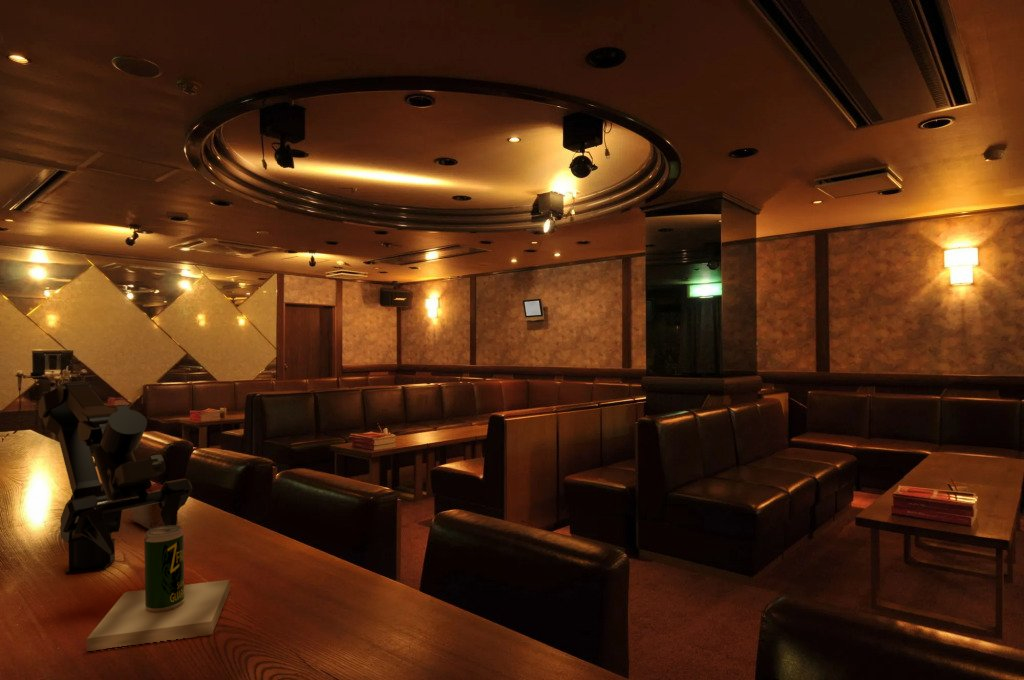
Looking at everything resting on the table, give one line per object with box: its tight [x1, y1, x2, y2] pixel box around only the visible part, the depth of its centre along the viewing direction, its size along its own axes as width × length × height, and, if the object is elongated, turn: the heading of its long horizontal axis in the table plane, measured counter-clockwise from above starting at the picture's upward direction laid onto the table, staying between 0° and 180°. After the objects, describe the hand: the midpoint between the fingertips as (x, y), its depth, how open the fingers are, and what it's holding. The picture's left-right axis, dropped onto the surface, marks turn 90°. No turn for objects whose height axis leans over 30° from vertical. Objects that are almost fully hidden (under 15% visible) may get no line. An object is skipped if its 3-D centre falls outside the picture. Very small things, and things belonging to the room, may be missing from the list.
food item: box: [130, 481, 179, 530], centre depth 143 cm, size 14×8×10 cm, turn 50°
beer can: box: [143, 524, 185, 613], centre depth 94 cm, size 5×5×12 cm
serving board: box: [86, 579, 231, 652], centre depth 94 cm, size 16×16×2 cm
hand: (144, 545), depth 99 cm, fingers open, 9 cm apart
